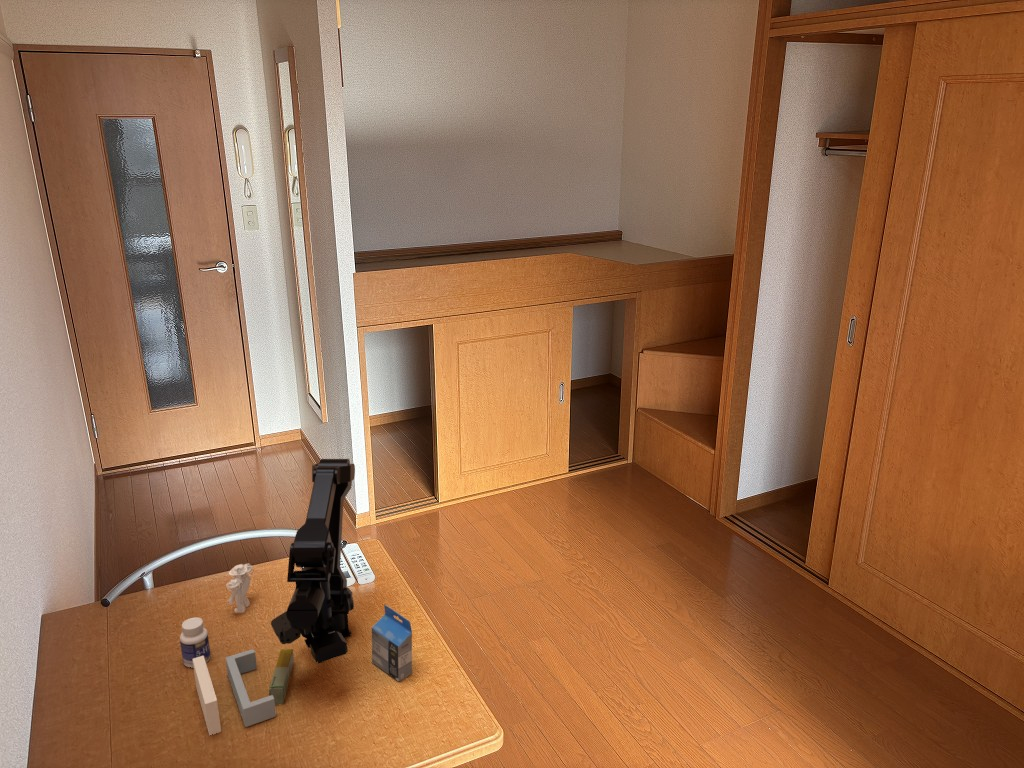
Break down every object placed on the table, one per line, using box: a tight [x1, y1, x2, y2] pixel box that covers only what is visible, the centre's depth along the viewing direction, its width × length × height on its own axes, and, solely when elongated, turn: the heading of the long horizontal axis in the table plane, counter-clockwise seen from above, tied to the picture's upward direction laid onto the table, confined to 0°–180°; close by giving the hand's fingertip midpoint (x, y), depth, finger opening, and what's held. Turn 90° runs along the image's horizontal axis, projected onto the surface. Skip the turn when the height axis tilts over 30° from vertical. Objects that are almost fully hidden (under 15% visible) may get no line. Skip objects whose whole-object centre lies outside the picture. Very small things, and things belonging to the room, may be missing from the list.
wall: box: [193, 656, 222, 737], centre depth 140 cm, size 2×14×7 cm, turn 30°
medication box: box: [268, 648, 295, 706], centre depth 148 cm, size 12×3×4 cm, turn 7°
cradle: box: [225, 648, 277, 728], centre depth 144 cm, size 6×16×4 cm, turn 31°
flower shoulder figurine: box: [225, 562, 254, 614], centre depth 170 cm, size 9×4×12 cm, turn 173°
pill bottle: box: [179, 617, 211, 669], centre depth 153 cm, size 5×5×9 cm
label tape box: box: [371, 604, 413, 682], centre depth 151 cm, size 9×4×12 cm, turn 47°
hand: (320, 662), depth 151 cm, fingers closed
